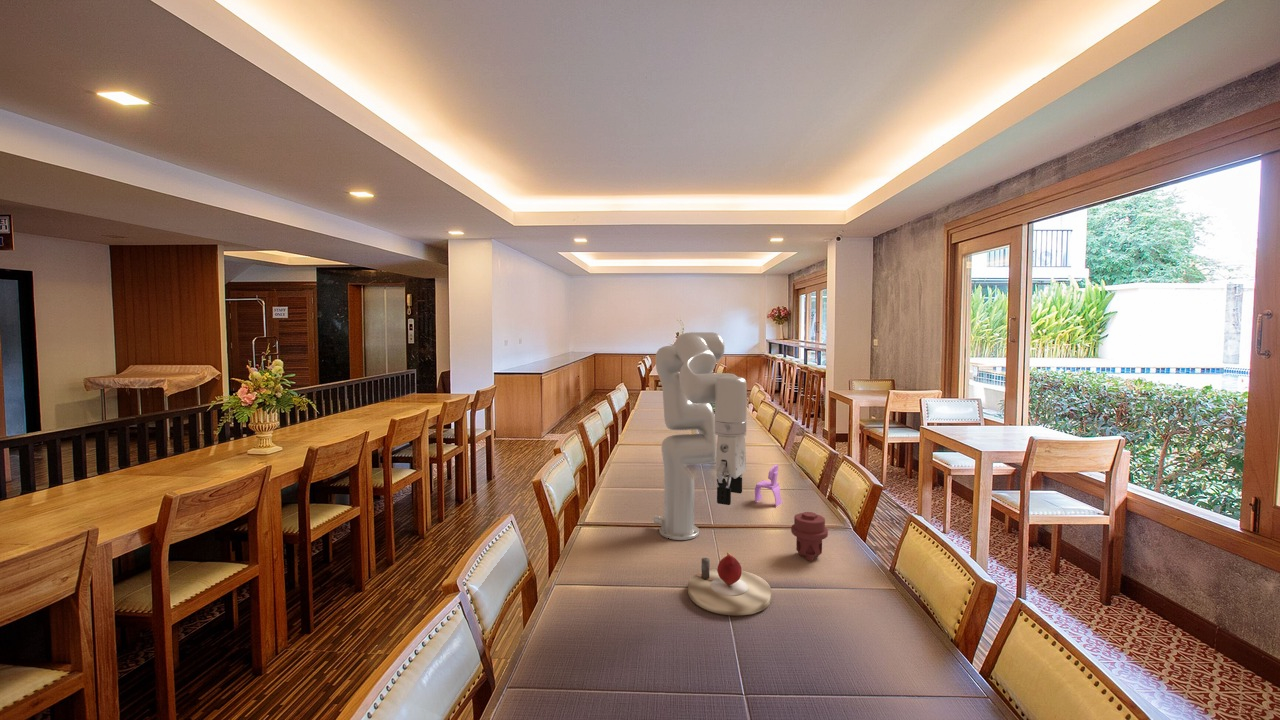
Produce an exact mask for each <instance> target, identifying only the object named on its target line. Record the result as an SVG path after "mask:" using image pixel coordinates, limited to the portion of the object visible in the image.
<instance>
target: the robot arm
mask: <svg viewBox="0 0 1280 720" xmlns="http://www.w3.org/2000/svg"><path fill="white" fill-rule="evenodd" d="M724 353H725V342H724V340H723V338H722V336H721V335H720V334H719V333H717V332H705V331H704V332H702V331H701V332H696V331H694V332H693V331H692V332H685V333H681V334H679V336H678V337H677V338H676V340H675V342H674V344H673V345H666V346H662V347H660V348H658V350H657V351H656V354H655V369H656V372H657V375H658V378H659V381H660V383H661V389H662V399H663V401H662V402H663V417H664V418H663V419H664V422H665V423H664V424H665V426H666V428H667V429H668V430H670V431H671V430H672V431H691V430H693V431H695V430H696V431H698V433H694V434H693V433H690V434H689V433H687V434H685V433H684V434H683V433H682V434H671V435H669V436H666V437H665V438H664V439H663V440H662V442H661V455H662V462H663V472H664V476H663V477H664V483H663V484H664V491H663V492H664V497H663V498H664V499H663V500H664V504H663V505H664V509H663V510H664V515H663V516H660V515H654V516H653V519H652V520H653V524H655V525H660V526H661V527H659V534H660V535H661V536H662V537H664V538H666V539H668V538H669V539H668V540H674V541H685V540H686V541H687V540H691V539H695V538H697V537H698V536H699V535H700V529H699V527H698V526H696V525H695V478H694V475H693V474H692V472H691V471H690V469H688V467H687V466H691V465H704V464H710V463H713V462H714V461H715V472H716V503H717V504H718V505H725V506H730V505H731V504H732V503H731V502H732V493H735V494H742V493H743V474H744V472H745V471H746V470H747V458H746V457H747V456H746V455H747V452H746V450H747V449H746V437H745V436H746V435H747V415H748V414H747V406H748V405H747V404H748V403H747V402H748V401H747V399H748V396H747V394H748V393H747V392H748V389H747V387H748V384H747V380H746V379H745V377H741V376H737V375H736V374H734V373H730V372H729V373H728V372H727V373H726V372H724V373H721V372H720V373H716V372H715V373H713V371H714V370H715V368H716V364H718V363H719V362H720V361H721V360H722V358H723V356H724ZM712 404H714V408H713V406H712Z"/></svg>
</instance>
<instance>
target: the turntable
mask: <svg viewBox="0 0 1280 720" xmlns="http://www.w3.org/2000/svg"><path fill="white" fill-rule="evenodd" d="M710 561H711V560H710V558H708V557H702V558H701V571H700V572H698V573H696V574H694V575H693V576H692V577H690V578H689V580H688V583H687V593H688V596H689V598H690V600H691V601H692V602H693V603H694V604H695V605H696V606H698V607H700V608H702V609H704V610H706V611H708V612H712V613H714V614H718V615H725V616H747V615H753V614H757V613H759V612H762V611H763V610H765V609H767V607H769V605H770V604H771V602H772V588H771V586H770V584H769V583H768V582H767V581H766V580H765V579H764V578H762V577H760V576H759V575H756V574H754V573H752V572H748V571H745V570H742V573H741V577H740V579H739V580H738V581H737V582H735V583H734V584H732V585H727V584H726V583H725V582H724V581H723V580H722V579H721V578H720V577H719V575H718V571H717V568H712V569H711V568H710Z"/></svg>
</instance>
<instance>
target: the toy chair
mask: <svg viewBox="0 0 1280 720" xmlns="http://www.w3.org/2000/svg"><path fill="white" fill-rule="evenodd" d="M778 475H779V465H778V464H774V465H773V466H772V467H771V468H770V469H769V471H768V476H767V478H768V479H769V480H770V481H768V480H765V479H763V480H761V481H760V482H758V483H756V484H755V487H754V503H755V502H757V501H759V500H760V499H763V496H762V494H761V492H762V491H761V489H767V490H771V491H772V493H773V496H774V500H775V502H774V503H775V504H774V505H775V506H774V507H775V508H776V507H777V506H778V505H780V504H781V503H782V504H783V500H782V498H781V487H780V485H779V484H780V483H779V482H777V481H778ZM759 502H760V501H759ZM782 504H781V505H782ZM781 505H780V506H781ZM778 507H779V506H778ZM778 507H777V508H778Z"/></svg>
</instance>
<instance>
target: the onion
mask: <svg viewBox="0 0 1280 720" xmlns="http://www.w3.org/2000/svg"><path fill="white" fill-rule="evenodd" d="M716 569H717V571H718V575H719V577H720V578H721V579H722V580H723V581H724V582H725V583H726V584H727V585H732V584H734V583H735V582H737V581H738V580H739V579H740V577H741V573H742V571H743V569H742V566H741V563H740V562H739V561H738V560H737V559H736V557H735V556H733V555H732V554H731V553H730V552H727V553H726V556H724V557H723V558H721V559H720V561H719V562H718V565H717V568H716Z"/></svg>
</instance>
